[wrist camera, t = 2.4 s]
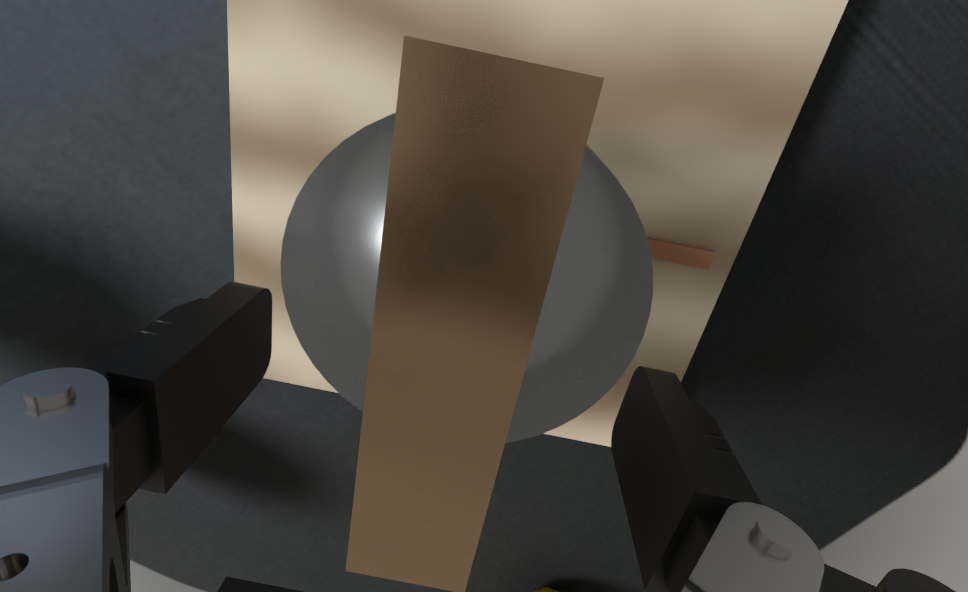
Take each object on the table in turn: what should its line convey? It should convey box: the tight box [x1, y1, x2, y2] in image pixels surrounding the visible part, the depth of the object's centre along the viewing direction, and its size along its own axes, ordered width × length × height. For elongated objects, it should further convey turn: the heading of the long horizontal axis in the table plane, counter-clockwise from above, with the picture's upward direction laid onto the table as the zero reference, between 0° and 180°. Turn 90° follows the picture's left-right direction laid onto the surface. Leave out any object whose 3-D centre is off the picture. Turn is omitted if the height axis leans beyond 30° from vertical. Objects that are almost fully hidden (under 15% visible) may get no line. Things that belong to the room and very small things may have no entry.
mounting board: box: [227, 0, 848, 447], centre depth 22 cm, size 22×22×2 cm
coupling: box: [280, 35, 653, 592], centre depth 16 cm, size 13×10×12 cm
